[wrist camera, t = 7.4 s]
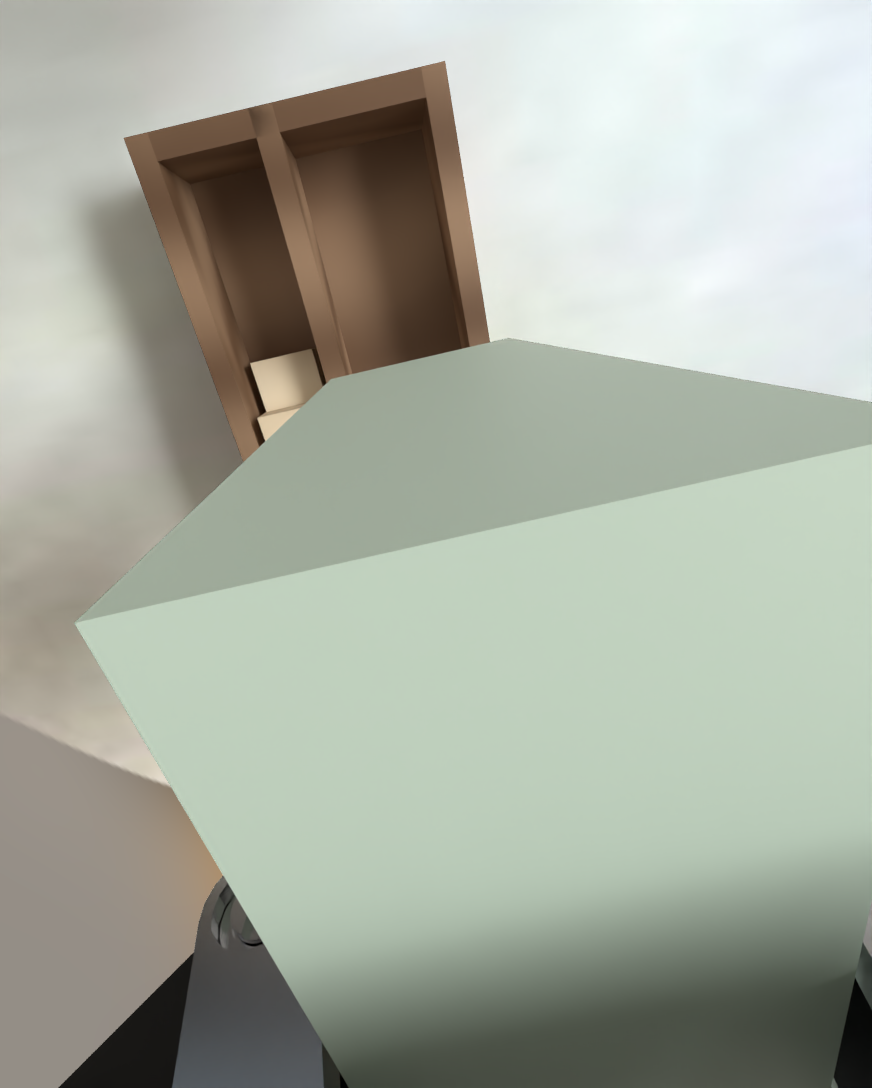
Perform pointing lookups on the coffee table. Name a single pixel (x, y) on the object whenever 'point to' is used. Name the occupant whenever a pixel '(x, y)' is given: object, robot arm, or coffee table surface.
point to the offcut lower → (289, 378)
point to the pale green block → (531, 716)
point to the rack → (318, 232)
